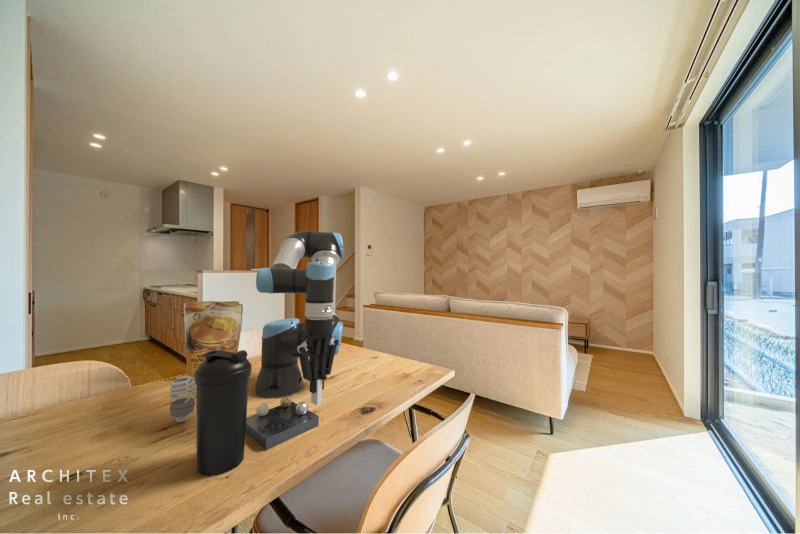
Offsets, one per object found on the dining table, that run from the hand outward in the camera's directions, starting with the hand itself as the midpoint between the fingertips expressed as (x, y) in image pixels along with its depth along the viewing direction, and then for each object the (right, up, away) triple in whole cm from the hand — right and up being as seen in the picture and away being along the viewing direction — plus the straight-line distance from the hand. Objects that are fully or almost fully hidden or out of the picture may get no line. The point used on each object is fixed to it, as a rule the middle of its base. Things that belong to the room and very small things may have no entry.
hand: (316, 403), depth 80 cm
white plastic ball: (-13, 0, -4) cm, 13 cm away
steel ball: (-3, 0, -3) cm, 5 cm away
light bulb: (-34, -3, -4) cm, 35 cm away
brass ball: (-9, 0, +1) cm, 9 cm away
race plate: (-8, -4, -5) cm, 10 cm away
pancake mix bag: (-48, -4, +29) cm, 56 cm away
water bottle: (-14, -4, -19) cm, 24 cm away
